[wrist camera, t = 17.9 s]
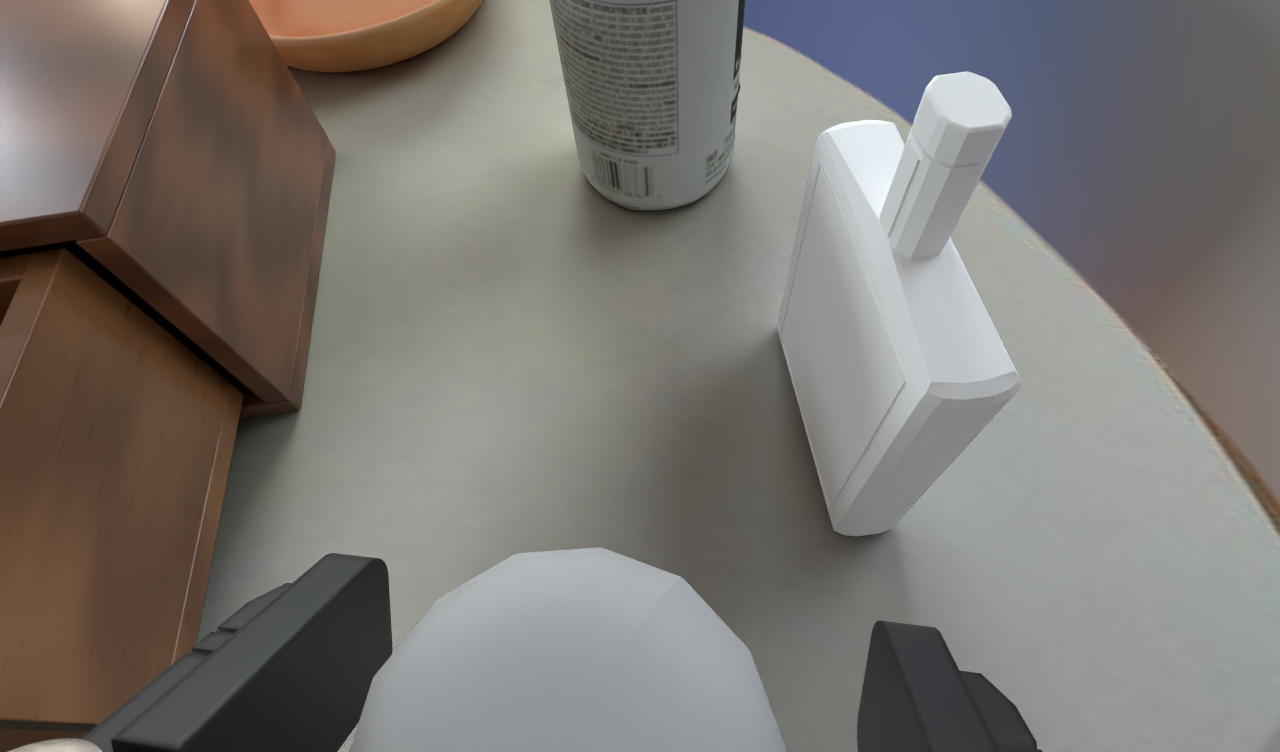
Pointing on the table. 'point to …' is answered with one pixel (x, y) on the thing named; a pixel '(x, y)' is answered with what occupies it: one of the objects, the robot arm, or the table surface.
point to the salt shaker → (569, 666)
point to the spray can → (651, 94)
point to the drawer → (98, 496)
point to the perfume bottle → (893, 305)
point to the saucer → (358, 30)
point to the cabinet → (171, 173)
